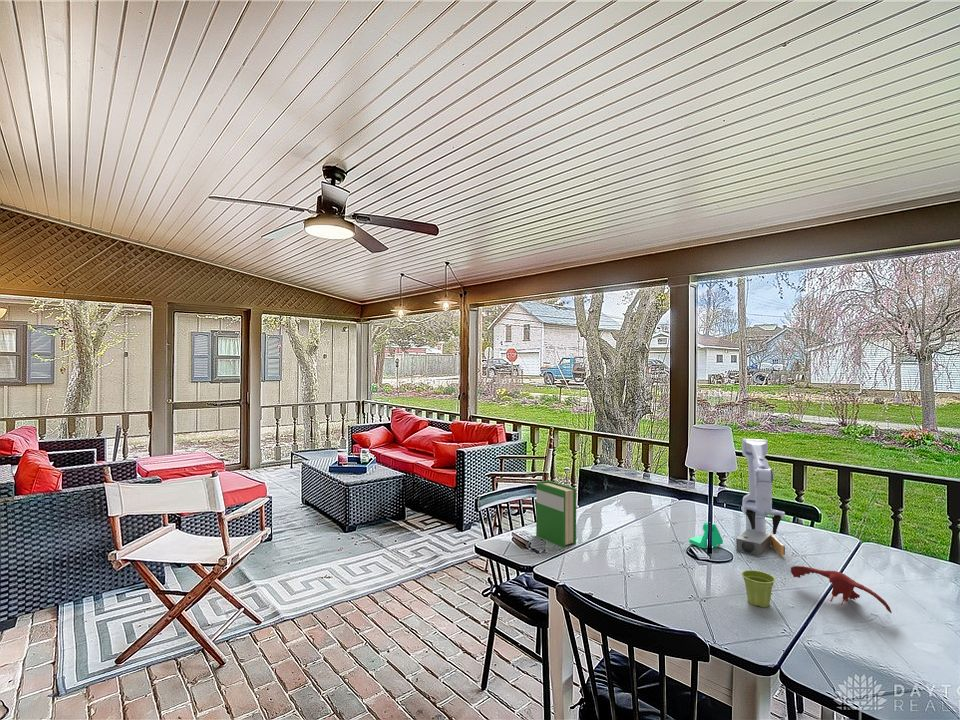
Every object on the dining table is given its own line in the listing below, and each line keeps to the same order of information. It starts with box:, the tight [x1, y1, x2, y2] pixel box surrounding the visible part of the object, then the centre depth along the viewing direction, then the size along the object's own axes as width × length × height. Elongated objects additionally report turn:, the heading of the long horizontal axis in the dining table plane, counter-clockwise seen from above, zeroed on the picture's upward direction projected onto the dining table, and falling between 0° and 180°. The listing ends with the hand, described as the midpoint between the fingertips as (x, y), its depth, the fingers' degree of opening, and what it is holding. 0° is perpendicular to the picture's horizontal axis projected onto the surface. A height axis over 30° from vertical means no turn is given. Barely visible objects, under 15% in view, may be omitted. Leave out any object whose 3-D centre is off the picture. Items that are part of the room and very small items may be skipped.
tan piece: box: [771, 534, 786, 558], centre depth 198 cm, size 13×2×4 cm, turn 165°
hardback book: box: [535, 479, 577, 549], centre depth 211 cm, size 18×7×24 cm, turn 34°
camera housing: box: [735, 529, 772, 557], centre depth 202 cm, size 17×9×6 cm, turn 135°
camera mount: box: [688, 521, 724, 549], centre depth 205 cm, size 12×8×10 cm, turn 116°
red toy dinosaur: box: [790, 565, 893, 614], centre depth 155 cm, size 28×9×15 cm
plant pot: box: [741, 569, 776, 608], centre depth 154 cm, size 9×9×9 cm
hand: (763, 531), depth 195 cm, fingers open, 7 cm apart
